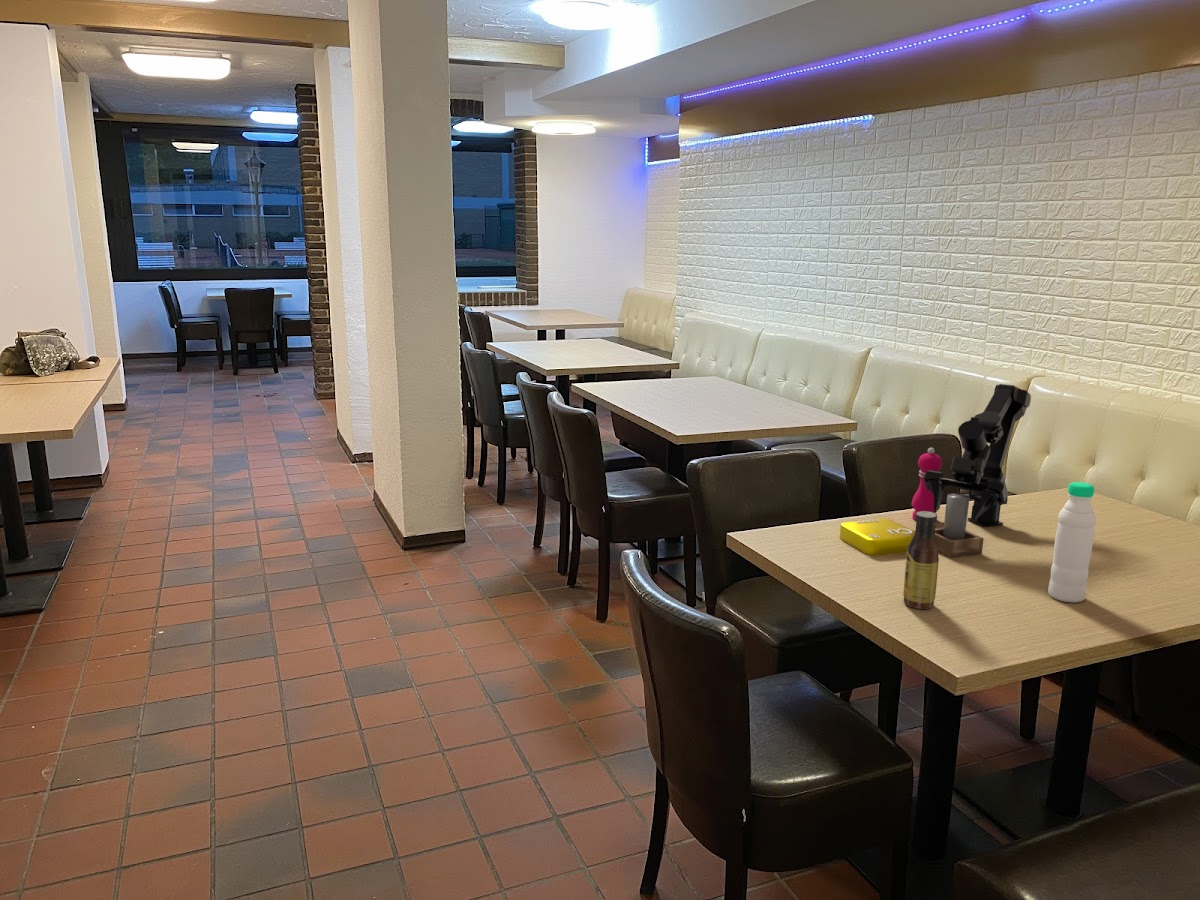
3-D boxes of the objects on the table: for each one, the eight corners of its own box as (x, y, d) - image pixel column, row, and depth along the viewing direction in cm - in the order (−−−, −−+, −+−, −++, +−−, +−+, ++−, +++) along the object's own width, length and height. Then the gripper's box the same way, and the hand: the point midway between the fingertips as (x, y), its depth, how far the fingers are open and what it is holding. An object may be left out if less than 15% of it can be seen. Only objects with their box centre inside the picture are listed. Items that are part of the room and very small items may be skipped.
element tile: (886, 533, 233) (888, 515, 232) (923, 552, 219) (925, 533, 218) (836, 538, 228) (837, 520, 227) (870, 558, 214) (872, 539, 213)
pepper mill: (934, 516, 246) (941, 445, 241) (941, 524, 239) (949, 451, 234) (907, 515, 247) (914, 444, 242) (913, 523, 240) (920, 450, 235)
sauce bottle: (909, 596, 191) (917, 506, 186) (938, 604, 187) (948, 512, 182) (897, 605, 186) (905, 513, 181) (927, 613, 182) (937, 520, 177)
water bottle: (1083, 606, 186) (1100, 490, 181) (1045, 599, 190) (1061, 485, 184) (1086, 595, 192) (1102, 482, 186) (1049, 588, 196) (1064, 477, 190)
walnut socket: (954, 541, 226) (956, 526, 225) (981, 554, 217) (983, 538, 216) (923, 545, 223) (924, 529, 222) (949, 558, 214) (951, 542, 213)
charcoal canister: (960, 542, 222) (966, 494, 219) (966, 549, 217) (972, 500, 214) (939, 541, 222) (945, 493, 219) (944, 548, 217) (950, 498, 214)
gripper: (929, 438, 222) (909, 490, 216) (1009, 450, 211) (990, 505, 205) (937, 463, 230) (917, 514, 224) (1014, 475, 219) (996, 529, 213)
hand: (954, 515), depth 217 cm, fingers open, 9 cm apart
